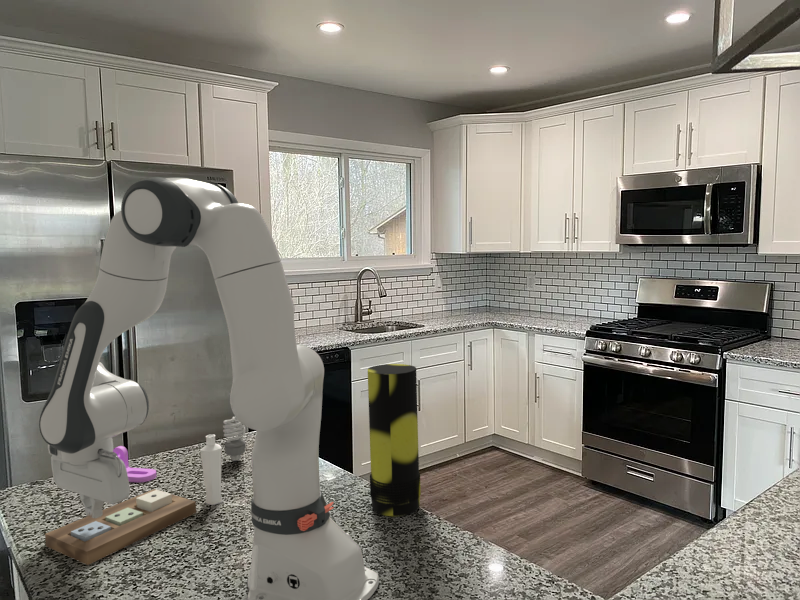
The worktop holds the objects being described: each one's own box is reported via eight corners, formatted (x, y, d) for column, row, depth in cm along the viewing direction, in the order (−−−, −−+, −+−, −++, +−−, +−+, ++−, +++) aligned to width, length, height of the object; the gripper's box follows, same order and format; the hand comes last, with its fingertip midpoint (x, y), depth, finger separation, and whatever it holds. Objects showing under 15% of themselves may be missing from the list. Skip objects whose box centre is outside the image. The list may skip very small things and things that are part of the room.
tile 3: (111, 538, 116) (110, 526, 116) (86, 550, 112) (85, 537, 112) (96, 533, 119) (95, 520, 119) (71, 544, 115) (70, 531, 114)
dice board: (196, 512, 128) (195, 501, 128) (87, 565, 108) (86, 551, 107) (154, 499, 135) (154, 488, 135) (46, 546, 115) (44, 533, 115)
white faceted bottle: (219, 506, 131) (215, 439, 129) (200, 505, 132) (196, 438, 130) (229, 497, 135) (225, 432, 134) (211, 496, 136) (207, 432, 135)
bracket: (101, 480, 148) (99, 452, 148) (116, 471, 154) (114, 445, 153) (147, 483, 145) (145, 455, 145) (161, 474, 151) (159, 448, 150)
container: (431, 504, 129) (428, 367, 126) (397, 522, 121) (393, 376, 118) (394, 491, 136) (390, 361, 133) (360, 508, 128) (355, 370, 125)
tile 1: (172, 505, 128) (171, 493, 128) (151, 514, 124) (150, 502, 124) (157, 500, 131) (156, 489, 130) (136, 509, 126) (136, 497, 126)
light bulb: (234, 466, 154) (232, 421, 153) (220, 462, 158) (217, 418, 156) (251, 459, 159) (249, 415, 158) (236, 456, 162) (234, 413, 161)
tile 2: (143, 524, 122) (142, 512, 122) (121, 534, 118) (120, 521, 118) (128, 518, 125) (127, 506, 125) (106, 528, 121) (105, 516, 120)
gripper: (135, 448, 111) (141, 520, 112) (74, 434, 122) (81, 500, 123) (102, 459, 106) (110, 534, 107) (42, 444, 117) (49, 512, 118)
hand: (94, 516), depth 115 cm, fingers closed
